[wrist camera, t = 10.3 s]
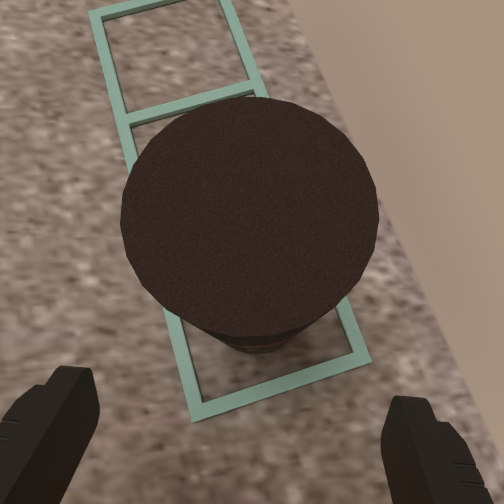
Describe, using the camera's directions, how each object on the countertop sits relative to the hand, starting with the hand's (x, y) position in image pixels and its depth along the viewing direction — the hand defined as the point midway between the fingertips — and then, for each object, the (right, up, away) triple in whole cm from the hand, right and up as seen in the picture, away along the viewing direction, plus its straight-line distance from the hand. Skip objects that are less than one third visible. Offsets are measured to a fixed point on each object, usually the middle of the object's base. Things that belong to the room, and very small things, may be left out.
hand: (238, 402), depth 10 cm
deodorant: (+1, +1, +13) cm, 13 cm away
